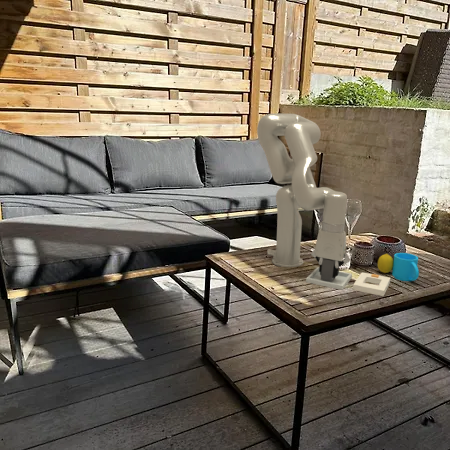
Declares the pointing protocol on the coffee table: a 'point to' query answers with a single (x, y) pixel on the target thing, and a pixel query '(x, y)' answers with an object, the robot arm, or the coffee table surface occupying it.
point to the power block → (369, 288)
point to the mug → (405, 267)
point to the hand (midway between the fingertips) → (328, 275)
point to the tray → (337, 283)
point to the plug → (327, 270)
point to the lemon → (385, 263)
